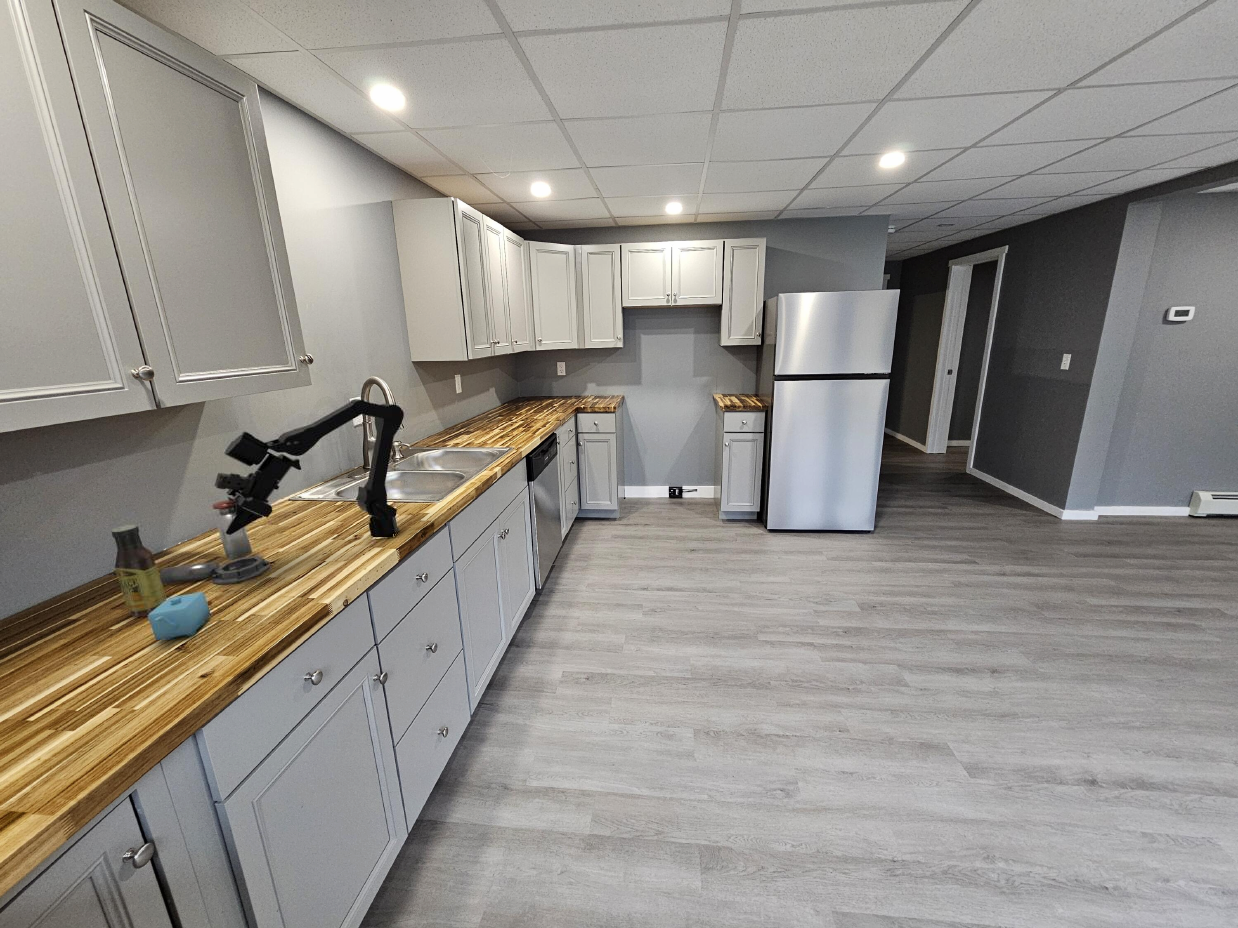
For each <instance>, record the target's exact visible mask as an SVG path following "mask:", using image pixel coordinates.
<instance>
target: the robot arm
mask: <svg viewBox="0 0 1238 928" xmlns="http://www.w3.org/2000/svg"><path fill="white" fill-rule="evenodd" d="M361 415H363V416H368V417H373V418H374V425H375V431H376V435H375V440H374V441H375V442H374V447H373V452H372V456H371V457H372V458H371V462H370V467H369V473H368V478H367V481H366V483H365V485H364V486H358V489H357V490H358V491H357V497H356V498H355V501H357V505H358V507H359V509H360V510H362V512H366V513H367V515H368V516H370V517H369V523H368V528H369V531H370V536H371V537H393V534H394V536H395V534H396V533H397V532H398V531H399V532H400V530H399V529H400V528H398V523H397V518H396V517H397V511H398V510H397V508H396V507H394V506H392V505H390V504H388V493H387V489H386V488H387V487H386V481H387V475H388V470H389V465H390V460H391V459H390V458H391V454H392V448H393V443H394V438H395V436H396V434H397V433H398V431H399V430H400V428H401V426H402V423H403V420H404V417H405V416H404V415H405V412H404V410H403V408H401V407H400V406H399V405H397V404H390V403H381V404H379V403H373V402H370V401H365V399H364V400H363V399H360V398H359V399H357V398H355V399H354V398H353V399H351V400H350V401H349V402H348V403H346V404H344V405H343V406H340V407H339V408H337V409H335V410H334V411H332V412H330V413H328V414H326V415H324V416H322V417H321V418H320V419H318V420H316V421H314V422H312V423H311V424H307V425H305V426H300V427H297V428H293V429H291V430H289V431H285V432H283V433H282V434H281V435H280V436H279V437H278V438H276V439H272V440H268V441H265V442H264V441H263V440H260V439H259V438H257V437H255V436H254V435H253V434H251V433H249V432H247V431H243V432H242V433H241V434H240V435H238V437H236V438H235V439H234V440H231V442H230V443H229V445H228V446H227V448H226V449H225V451H224V455H225V456H227V457H229V458H231V459H234V460H236V461H237V462H240V464H243V465H245V466H247V467H252V466H253V465H255V466H258V468H256V470H255V471H254V473H253V472H249V473H248V475H247V476H243V475H241V474H239V473H237V474H236V473H232V472H231V473H229V474H228V473H222V472H218V473H217V476H216V479H215V483H214V487H216V489H220V490H227V491H226V495H227V500H237V504H236V503H234V506H233V507H234V509H236V514H235V515H234V517H233V519H232V521H231V523H230V525H229V526H228V528H227V530H226V534H228V535H231V534H233V533H235V532H236V531H238V530H240V529H241V528H243V527H245V528H246V526H248V525H250V524H251V523H254V522H256V521H257V520H259V519H262V518H263V517H265V518H267V519H268V518H269V516H270V515H271V514H272V513H273V506H272V505H271V504H270V503H269V500H268V499H269V497H270V496H271V495H272V494H273V493H274V491H275V490H276V491H278V490H279V489H280V485H279V484H280V483H281V482H282V480H283V479H284V477H286V475H287V474H288V472H289V471H290V470H291V469H292V468H294V469H296V470H298V471H301V470H302V466H301V464H300V463H301V461H300V459H299V458H294V459H292V458H290V457H288V456H287V455H290V456H294V457H300V456H303V455H305V454H306V453H307V452H309V451H310V450H312V448H314V447H315V446H316V445H317V443H318V442H319V441H320V440H321V439H322V438H324V437H325V436H327V435H328V434H330V433H332V432H334V431H335V430H337V429H339V428H340V427H342V426H344V425H345V424H347V423H350V422H351V421H352V420H354V419H355V418H357V417H359V416H361ZM269 450H271V451H273V452H275V453H279V455H276V454H274V453H272V452H270V451H269ZM284 453H285V454H287V455H285V454H284ZM399 532H398V533H399ZM398 533H397V534H398ZM395 537H396V536H395Z"/></svg>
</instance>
